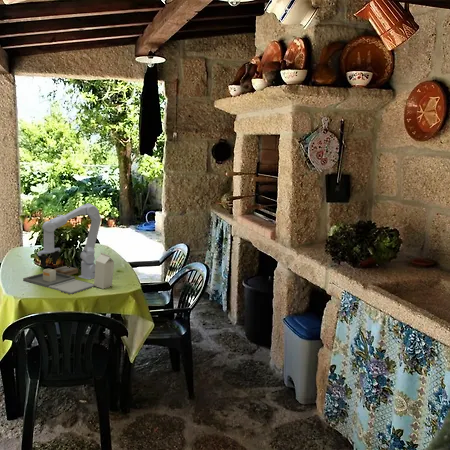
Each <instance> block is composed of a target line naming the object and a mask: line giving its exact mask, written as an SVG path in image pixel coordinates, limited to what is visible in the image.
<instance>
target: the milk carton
mask: <svg viewBox="0 0 450 450" xmlns="http://www.w3.org/2000/svg"><path fill="white" fill-rule="evenodd" d="M95 264H96V266H95V278H93V279H94V281H93V282H94V283H93V284H94V286H96V287H97V288H99V289H102V290H103V289H104V288H105V289H108V288H110V286H111V287H113V279H114V267H115V265H114V264H115V261H114V260H113V259H112V258H111V255H109V254H106V253H103V252H100V255H98V257H97V258H96V259H95Z"/></svg>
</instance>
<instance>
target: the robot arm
mask: <svg viewBox="0 0 450 450" xmlns="http://www.w3.org/2000/svg"><path fill="white" fill-rule="evenodd" d="M80 215H82V216H86V215H87V217H89V219H90V221H91V222H90V227H89V229H88V230H89V231H88V235H87V239H86V242H85V246H84V247H83V249H82V251H81V252H80V255H79V256H80V259H81V261H80V262H81V263H80V269H81V271H80V273H81V274H80V275H78V276H77V277H78V278H81V279H84V280H85V279H86V280H92V279H95V266H96V263H95V261H96V259H95V247H96V241H97V238H98V233H99V231H100V230H99V229H100V227H101V222H102V217H101V215H100V210H99V208H97V206H96V205H93V204H91V203H90V202H88V203H85V204H82V205H81V206H79V207H77V208H75V209H73V210H71V211H69V212H68V213H66V214H64V215H63V214H57V215H56V217H54V218H52V219H49V221H45V222H43V224H42V226H41V228H42V230H43V249H42V250H39V251H37V258H38V259H39V261H40V264H41V267H42V268H46V266H47V258H48V255H49V254H51V259H52V261H51V262H52V265H55V266H56V265H57V262H58V260H59V257H60V255H61V248H60V247H55V230H57V229H58V228H60V227H62V226H64V225H66V224H67V223H68V221H70V220H71V219H73V218H76V217H78V216H80Z"/></svg>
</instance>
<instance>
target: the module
mask: <svg viewBox="0 0 450 450" xmlns="http://www.w3.org/2000/svg"><path fill="white" fill-rule="evenodd" d="M42 273H43V280H45V281H49V282H51V281H55V280H56V270H54V269H52V268H49V267H48V268H45V269H43V270H42Z"/></svg>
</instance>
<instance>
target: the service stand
mask: <svg viewBox="0 0 450 450" xmlns="http://www.w3.org/2000/svg"><path fill="white" fill-rule="evenodd" d="M69 267H70V268H69ZM69 267H67V265H64V266H60V267H56V268H54V269H53V270H56V272H57V273H61V274H65V275H69V276H73V275H75V274H78V273H79V269H78V268H76V267H72V266H69Z"/></svg>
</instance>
